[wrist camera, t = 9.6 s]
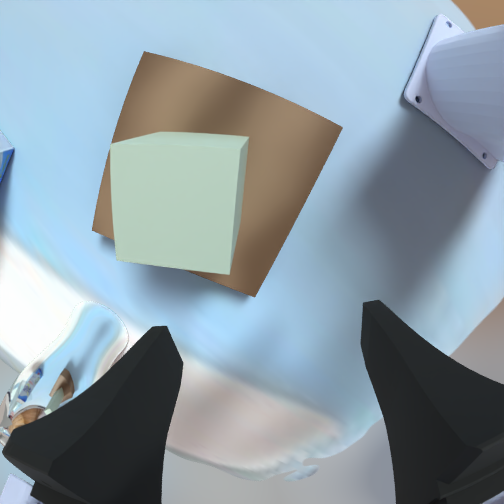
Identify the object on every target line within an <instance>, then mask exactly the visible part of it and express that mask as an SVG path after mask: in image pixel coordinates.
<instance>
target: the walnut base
mask: <svg viewBox="0 0 504 504" xmlns="http://www.w3.org/2000/svg"><path fill="white" fill-rule="evenodd" d="M342 128H343V127H341V126H339V125H337V124H335V123H334V122H332V121H330V120H328V119H326V118H324V117H322V116H320V115H318V114H316V113H314V112H312V111H310V110H308V109H306V108H304V107H302V106H299V105H297V104H295V103H293V102H291V101H289V100H286V99H284V98H282V97H280V96H277V95H275V94H273V93H270V92H268V91H265V90H263V89H261V88H258V87H256V86H253V85H251V84H248V83H245V82H243V81H240V80H237V79H235V78H232V77H229V76H226V75H224V74H221V73H218V72H215V71H212V70H209V69H206V68H203V67H200V66H196V65H193V64H190V63H186V62H183V61H180V60H176V59H172V58H169V57H165V56H161V55H157V54H153V53H149V52H145V51H144V53H143V55H142V57H141V60H140V62H139V65H138V67H137V69H136V72H135V74H134V77H133V80H132V82H131V85H130V88H129V90H128V93H127V96H126V99H125V101H124V104H123V107H122V110H121V113H120V116H119V119H118V123H117V126H116V129H115V132H114V136H113V139H112V143H111V144H113V143H116V142H120V141H124V140H128V139H132V138H136V137H140V136H144V135H148V134H152V133H157V132H189V133H208V134H223V135H235V136H246V137H249V143H248V153H247V162H246V172H245V182H244V192H243V202H242V213H241V223H240V227H239V232H238V236H237V241H236V246H235V251H234V255H233V260H232V265H231V270H230V274H229V275H227V274H219V273H210V272H202V271H193V270H186V271H188V272H191V273H193V274H196V275H198V276H201V277H203V278H206V279H208V280H211V281H213V282H216V283H219V284H221V285H224V286H226V287H229V288H231V289H234V290H237V291H239V292H242V293H244V294H247V295H250V296H252V297H255V296H256V294H257V293H258V291H259V289H260V287H261V285H262V283H263V281H264V280H265V278H266V276H267V274H268V272H269V270H270V268H271V267H272V265H273V263H274V261H275V259H276V257H277V255H278V253H279V251H280V250H281V248H282V246H283V244H284V242H285V240H286V238H287V236H288V234H289V232H290V231H291V229H292V227H293V225H294V223H295V221H296V219H297V217H298V215H299V213H300V211H301V209H302V208H303V206H304V204H305V202H306V200H307V198H308V196H309V194H310V192H311V190H312V188H313V186H314V184H315V182H316V180H317V178H318V176H319V174H320V172H321V170H322V168H323V166H324V164H325V162H326V161H327V159H328V157H329V155H330V153H331V151H332V149H333V147H334V145H335V143H336V141H337V138H338V136H339V134H340V132H341V130H342ZM92 231H95V232H97V233H99V234H101V235H103V236H106V237H108V238H110V239H113V240H114V229H113V216H112V200H111V174H110V150H109V153H108V157H107V161H106V165H105V169H104V173H103V177H102V181H101V186H100V190H99V195H98V200H97V205H96V210H95V215H94V221H93V227H92ZM183 270H185V269H183Z"/></svg>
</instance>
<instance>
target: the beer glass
mask: <svg viewBox="0 0 504 504" xmlns="http://www.w3.org/2000/svg"><path fill="white" fill-rule="evenodd" d="M127 342H128V332H127V329H126V327H125V325H124V324H123V322H122V321H121V319H120V318H119V317H118V316H117V315H116V314H115V313H114V312H113V311H112V310H110V309H109V308H107V307H106V306H104V305H102V304H99V303H96V302H92V301H84V302H81V303H79V304H77V305H76V306H75V307H74V309H73V311H72V313H71V315H70V317H69V319H68V321H67V324H66V326H65V327H64V329H63V330H62V332H61V333H60V334H59V336H58V337H57V338H56V339H55V340H54V341H53V342H52V343H51V344H50V345H49V346H48V347H46V348H45V349H44V350H43V351H42V352H41V353H40V354H39V355H38V356H37V357H36V358H34V359H33V360H32V361H31V362H30V363H29V364H28V365H27V367H26V368H25V369H24V370H23V371H22V372H21V373H20V374H19V376H18V377H17V378H16V380H15V381H14V383H13V384H12V386H11V387H10V389H9V391H8V392H7V394H6V395H5V397H4V399H3V401H2V403H1V405H0V443H1V444H2V445H3V446H4V447H5V445H6V443H7V441H8V439H9V437H10V435H11V433H12V431H13V429H15V428H18V427H20V426H23V425H25V424H28V423H30V422H33V421H35V420H37V419H40V418H42V417H44V416H46V415H48V414H49V413H51V412H53V411H55V410H57V409H58V408H60V407H62V406H63V405H65V404H66V403H68V402H69V401H71V400H72V399H74V398H75V397H77V396H78V395H80V394H81V393H82V392H84V391H85V390H86V389H87V388H89V387H90V386H91V385H92V384H94V383H95V382H96V381H97V380H98V379H100V378H101V377H102V376H103V375H104V374H105V373H106V372H107V371H108V370H109V369H110V367H111V365H112V363H113V361H114V360H115V359H116V357H117V356H118V355H119V354H120V353H121V351H122V350H123V349H124V348H125V347H126V345H127Z"/></svg>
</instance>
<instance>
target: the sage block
mask: <svg viewBox="0 0 504 504" xmlns="http://www.w3.org/2000/svg"><path fill="white" fill-rule="evenodd" d="M248 143H249V137H246V136H235V135H223V134H208V133H189V132H157V133H152V134H148V135H144V136H140V137H136V138H132V139H128V140H124V141H120V142H116V143H113V144H110V174H111V200H112V216H113V229H114V240H115V250H116V259H117V261H124V262H132V263H139V264H146V265H154V266H162V267H169V268H177V269H185V270H193V271H202V272H210V273H219V274H227V275H229V274H230V270H231V265H232V260H233V255H234V251H235V246H236V241H237V236H238V232H239V227H240V223H241V213H242V202H243V192H244V182H245V172H246V162H247V153H248Z"/></svg>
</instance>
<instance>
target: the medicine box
mask: <svg viewBox="0 0 504 504" xmlns="http://www.w3.org/2000/svg"><path fill="white" fill-rule="evenodd" d="M13 150H14V147H13V146H12V144H11V143H10V142H9V140H8V139H7V138H6V136H5V135H4V134H3V133H2V131H1V130H0V183H1V180H2V178H3V175H4V172H5V170H6V167H7V165H8V162H9V160H10V157H11V155H12V152H13Z"/></svg>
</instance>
